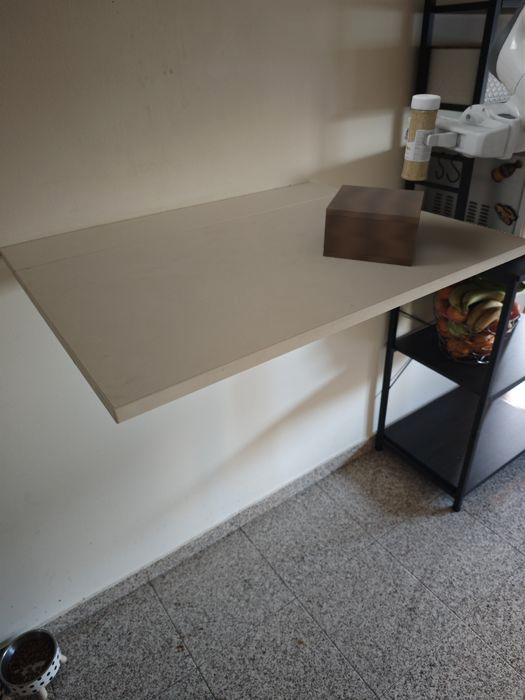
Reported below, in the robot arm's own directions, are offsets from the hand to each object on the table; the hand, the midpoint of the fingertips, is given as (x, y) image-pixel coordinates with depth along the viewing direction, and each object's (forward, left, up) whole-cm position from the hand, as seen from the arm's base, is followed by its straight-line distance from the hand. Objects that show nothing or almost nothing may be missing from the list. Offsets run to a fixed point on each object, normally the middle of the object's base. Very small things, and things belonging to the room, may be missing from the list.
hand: (416, 137), depth 86 cm
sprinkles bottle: (-1, -1, -7) cm, 7 cm away
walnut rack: (+5, +1, -20) cm, 21 cm away
